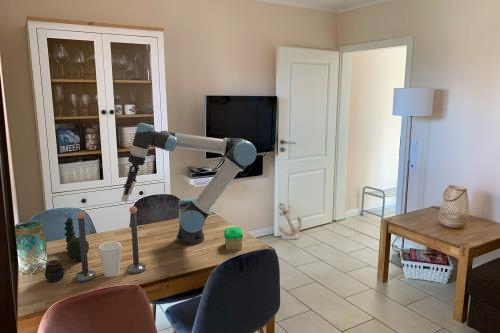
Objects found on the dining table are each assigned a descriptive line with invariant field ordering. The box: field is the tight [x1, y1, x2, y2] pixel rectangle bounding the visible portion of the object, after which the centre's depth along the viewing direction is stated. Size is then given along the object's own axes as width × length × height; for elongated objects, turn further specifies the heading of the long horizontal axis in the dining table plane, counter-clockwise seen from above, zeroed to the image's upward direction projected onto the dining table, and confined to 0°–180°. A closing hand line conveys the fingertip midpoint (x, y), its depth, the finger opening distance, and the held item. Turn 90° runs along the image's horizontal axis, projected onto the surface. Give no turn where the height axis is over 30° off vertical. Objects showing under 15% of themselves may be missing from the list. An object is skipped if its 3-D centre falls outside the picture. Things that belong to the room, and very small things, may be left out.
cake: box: [223, 226, 244, 250], centre depth 197 cm, size 10×11×10 cm
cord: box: [129, 206, 140, 266], centre depth 168 cm, size 3×3×28 cm
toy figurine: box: [63, 216, 90, 262], centre depth 183 cm, size 9×19×25 cm
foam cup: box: [97, 241, 123, 278], centre depth 166 cm, size 10×9×13 cm
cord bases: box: [74, 262, 146, 283], centre depth 167 cm, size 29×8×2 cm, turn 111°
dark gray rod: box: [76, 211, 89, 274], centre depth 161 cm, size 3×3×28 cm
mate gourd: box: [44, 258, 65, 283], centre depth 161 cm, size 7×8×10 cm
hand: (126, 197), depth 182 cm, fingers open, 13 cm apart
